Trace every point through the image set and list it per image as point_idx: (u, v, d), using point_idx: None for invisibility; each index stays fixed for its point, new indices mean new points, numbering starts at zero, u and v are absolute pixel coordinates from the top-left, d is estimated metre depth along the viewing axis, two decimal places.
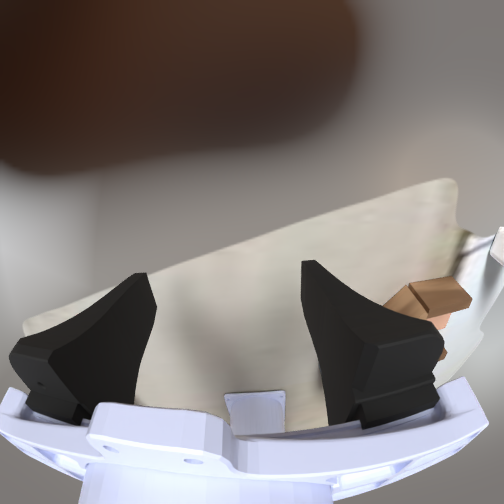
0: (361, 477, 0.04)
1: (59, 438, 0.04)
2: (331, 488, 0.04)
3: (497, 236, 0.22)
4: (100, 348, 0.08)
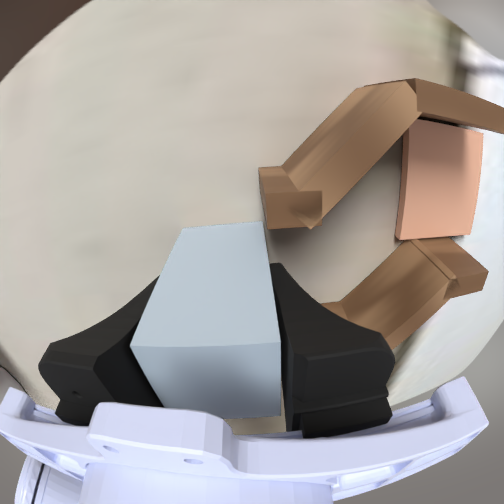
0: (361, 477, 0.04)
1: (59, 438, 0.04)
2: (331, 488, 0.04)
3: None
4: None
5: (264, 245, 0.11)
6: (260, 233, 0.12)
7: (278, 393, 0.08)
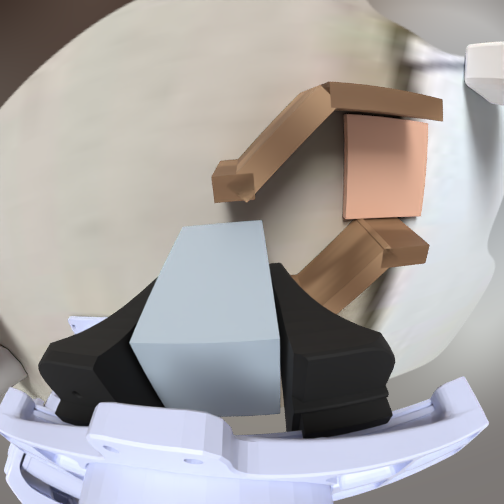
0: (361, 477, 0.04)
1: (59, 438, 0.04)
2: (331, 488, 0.04)
3: (468, 56, 0.11)
4: None
5: (264, 244, 0.11)
6: (260, 232, 0.12)
7: (277, 391, 0.08)
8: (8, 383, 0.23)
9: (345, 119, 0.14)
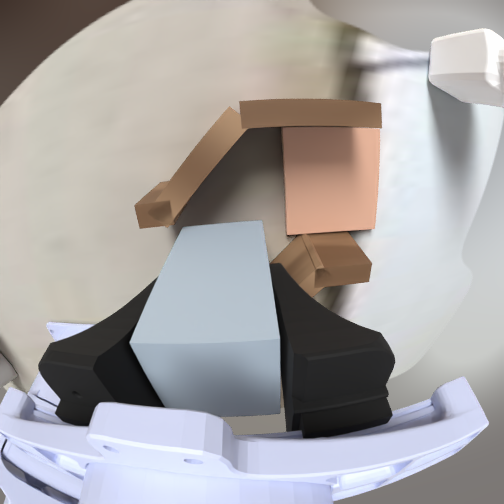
0: (361, 477, 0.04)
1: (59, 438, 0.04)
2: (331, 488, 0.04)
3: (433, 51, 0.11)
4: None
5: (264, 244, 0.11)
6: (260, 232, 0.12)
7: (278, 391, 0.08)
8: None
9: (282, 132, 0.15)
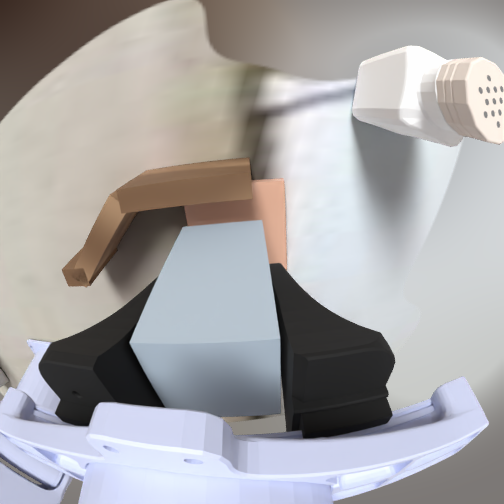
0: (361, 477, 0.04)
1: (59, 438, 0.04)
2: (331, 488, 0.04)
3: (360, 77, 0.13)
4: None
5: (264, 243, 0.11)
6: (260, 232, 0.12)
7: (278, 391, 0.08)
8: None
9: None
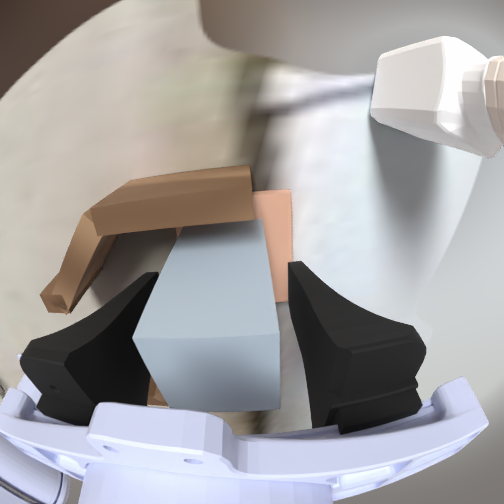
0: (361, 477, 0.04)
1: (59, 438, 0.04)
2: (331, 488, 0.04)
3: (379, 72, 0.10)
4: (115, 349, 0.08)
5: (264, 242, 0.11)
6: (260, 230, 0.13)
7: (277, 385, 0.08)
8: None
9: None
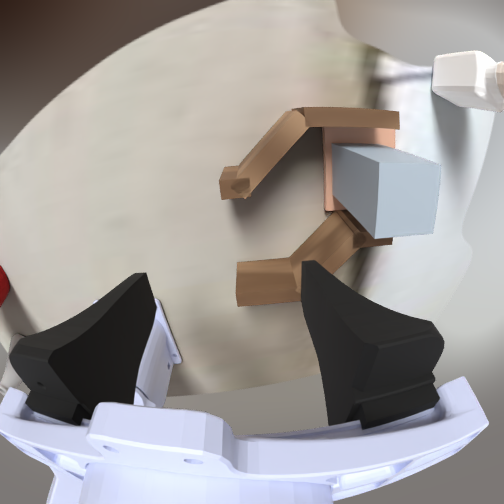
0: (361, 477, 0.04)
1: (59, 438, 0.04)
2: (331, 488, 0.04)
3: (435, 66, 0.15)
4: (100, 348, 0.08)
5: None
6: (386, 146, 0.17)
7: (436, 207, 0.12)
8: None
9: (323, 130, 0.18)
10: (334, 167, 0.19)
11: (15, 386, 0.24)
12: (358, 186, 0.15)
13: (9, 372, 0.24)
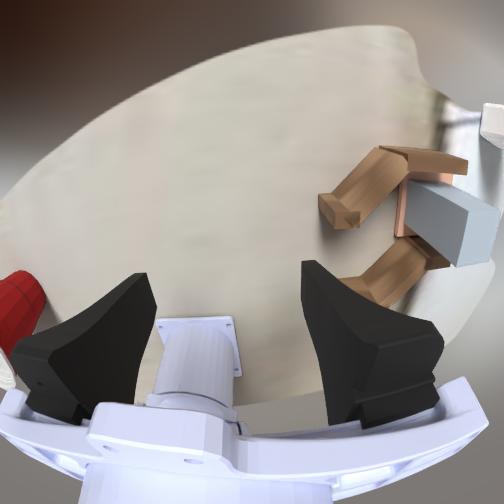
0: (361, 477, 0.04)
1: (59, 438, 0.04)
2: (331, 488, 0.04)
3: (484, 112, 0.17)
4: (100, 348, 0.08)
5: None
6: (449, 184, 0.19)
7: (493, 242, 0.14)
8: None
9: None
10: (410, 200, 0.20)
11: None
12: (441, 223, 0.16)
13: None
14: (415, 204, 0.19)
